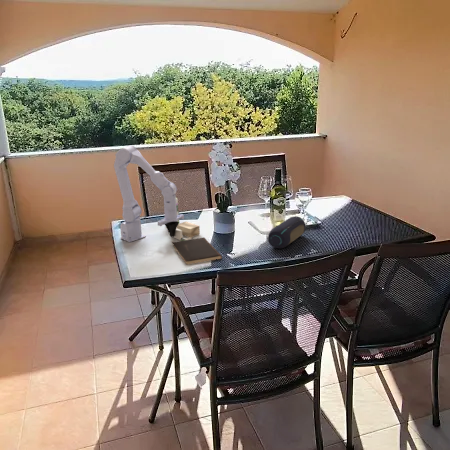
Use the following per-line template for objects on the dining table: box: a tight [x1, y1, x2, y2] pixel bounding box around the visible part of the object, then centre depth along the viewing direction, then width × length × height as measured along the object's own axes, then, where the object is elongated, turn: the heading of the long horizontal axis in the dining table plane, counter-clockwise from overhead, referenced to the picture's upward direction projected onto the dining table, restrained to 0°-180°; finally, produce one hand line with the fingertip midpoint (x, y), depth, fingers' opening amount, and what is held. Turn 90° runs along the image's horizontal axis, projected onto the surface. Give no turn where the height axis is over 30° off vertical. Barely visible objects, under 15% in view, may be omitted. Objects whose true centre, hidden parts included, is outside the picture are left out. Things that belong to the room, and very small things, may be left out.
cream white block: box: [173, 228, 186, 241], centre depth 207 cm, size 4×10×4 cm, turn 46°
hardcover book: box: [171, 237, 223, 265], centre depth 191 cm, size 16×23×2 cm
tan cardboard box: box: [176, 221, 201, 242], centre depth 209 cm, size 16×12×4 cm
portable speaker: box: [267, 215, 307, 249], centre depth 199 cm, size 25×10×10 cm, turn 146°
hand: (172, 236), depth 205 cm, fingers closed
